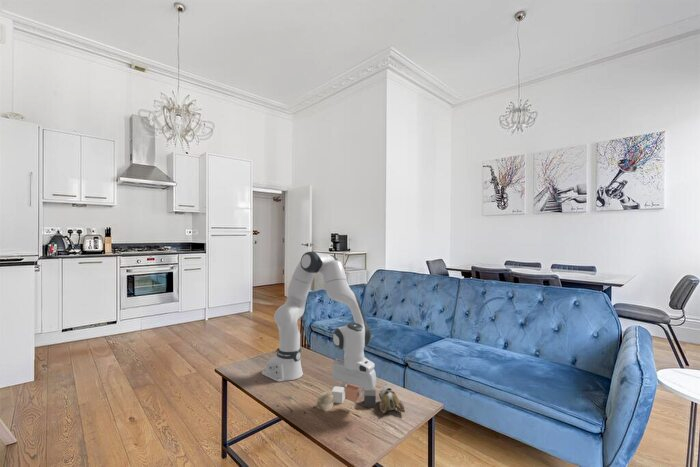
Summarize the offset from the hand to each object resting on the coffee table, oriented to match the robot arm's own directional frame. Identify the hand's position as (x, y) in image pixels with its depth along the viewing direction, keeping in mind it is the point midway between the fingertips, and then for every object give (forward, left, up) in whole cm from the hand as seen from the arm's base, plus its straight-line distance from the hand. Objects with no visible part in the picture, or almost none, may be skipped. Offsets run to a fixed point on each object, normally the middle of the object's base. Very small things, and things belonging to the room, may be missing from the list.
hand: (353, 393), depth 138 cm
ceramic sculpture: (+14, +9, -7) cm, 18 cm away
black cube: (+5, +8, -7) cm, 11 cm away
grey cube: (-9, +4, -7) cm, 12 cm away
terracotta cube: (0, 0, -2) cm, 2 cm away
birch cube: (-11, -4, -7) cm, 14 cm away
